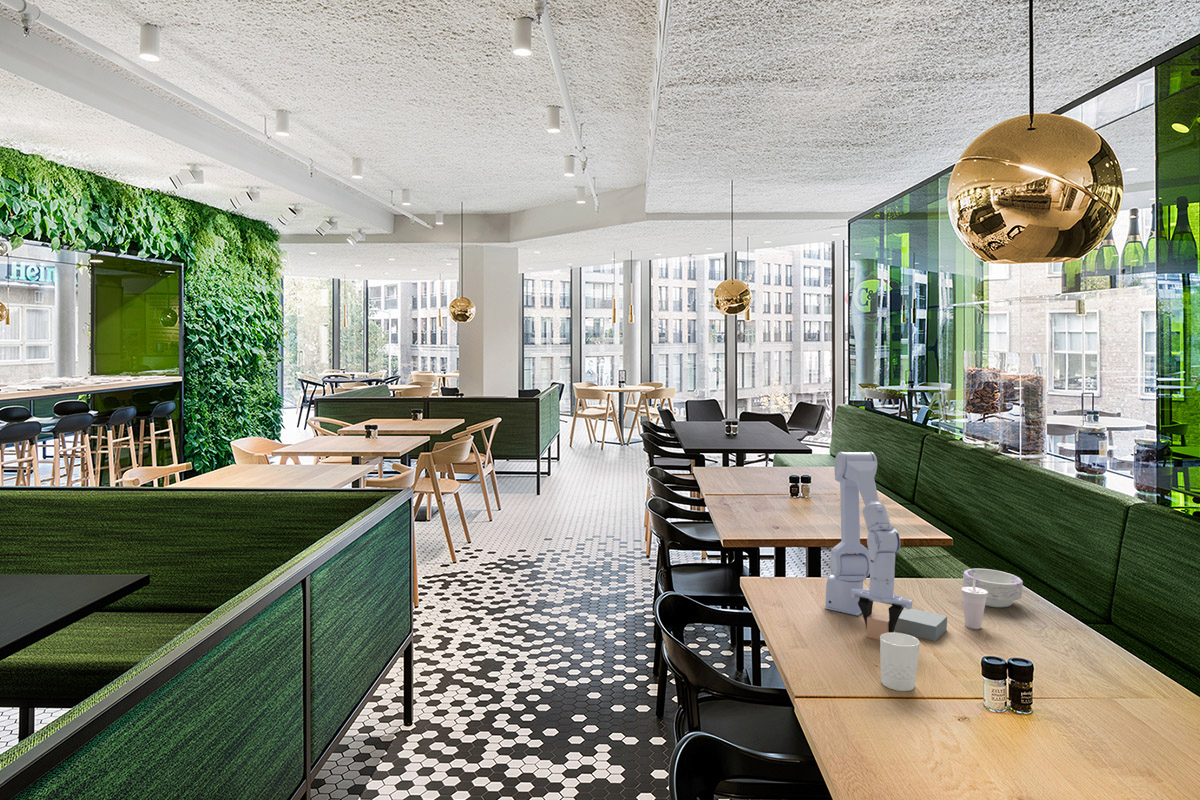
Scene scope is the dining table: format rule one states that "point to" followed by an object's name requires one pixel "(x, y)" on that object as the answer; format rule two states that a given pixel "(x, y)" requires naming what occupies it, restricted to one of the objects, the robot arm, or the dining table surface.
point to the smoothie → (974, 605)
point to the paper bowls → (995, 586)
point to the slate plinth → (921, 624)
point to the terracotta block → (877, 625)
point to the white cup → (898, 660)
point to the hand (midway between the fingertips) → (879, 630)
